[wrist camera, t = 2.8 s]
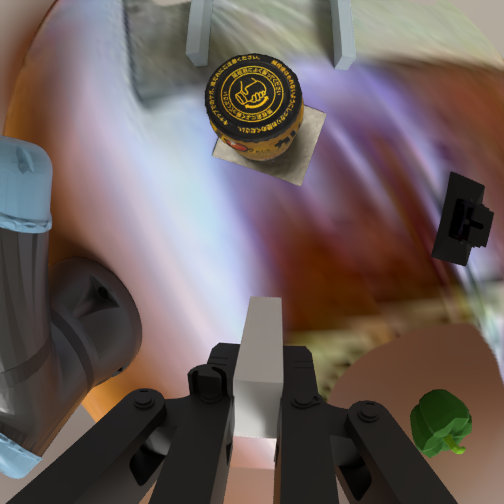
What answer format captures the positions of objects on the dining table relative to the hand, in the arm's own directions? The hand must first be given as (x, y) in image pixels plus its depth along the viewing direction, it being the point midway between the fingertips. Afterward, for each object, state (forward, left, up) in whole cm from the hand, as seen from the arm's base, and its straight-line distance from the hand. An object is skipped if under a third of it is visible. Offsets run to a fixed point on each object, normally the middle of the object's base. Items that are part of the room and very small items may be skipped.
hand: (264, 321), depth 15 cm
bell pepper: (+24, -21, -14) cm, 35 cm away
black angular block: (+21, +4, -15) cm, 26 cm away
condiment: (0, +11, -14) cm, 18 cm away
